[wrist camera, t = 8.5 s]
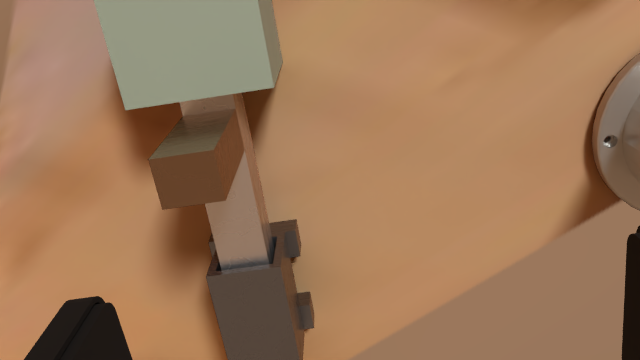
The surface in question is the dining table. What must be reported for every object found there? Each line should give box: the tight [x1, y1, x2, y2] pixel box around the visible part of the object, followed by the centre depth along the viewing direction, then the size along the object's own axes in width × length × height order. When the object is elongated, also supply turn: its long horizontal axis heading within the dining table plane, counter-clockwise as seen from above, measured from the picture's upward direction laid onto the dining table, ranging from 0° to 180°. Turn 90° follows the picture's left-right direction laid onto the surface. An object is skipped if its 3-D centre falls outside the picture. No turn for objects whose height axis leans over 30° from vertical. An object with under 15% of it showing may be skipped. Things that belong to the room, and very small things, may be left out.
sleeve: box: [206, 220, 314, 360], centre depth 40 cm, size 6×8×6 cm
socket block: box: [94, 0, 283, 110], centre depth 33 cm, size 8×6×7 cm
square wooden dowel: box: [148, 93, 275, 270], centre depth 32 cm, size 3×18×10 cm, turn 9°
